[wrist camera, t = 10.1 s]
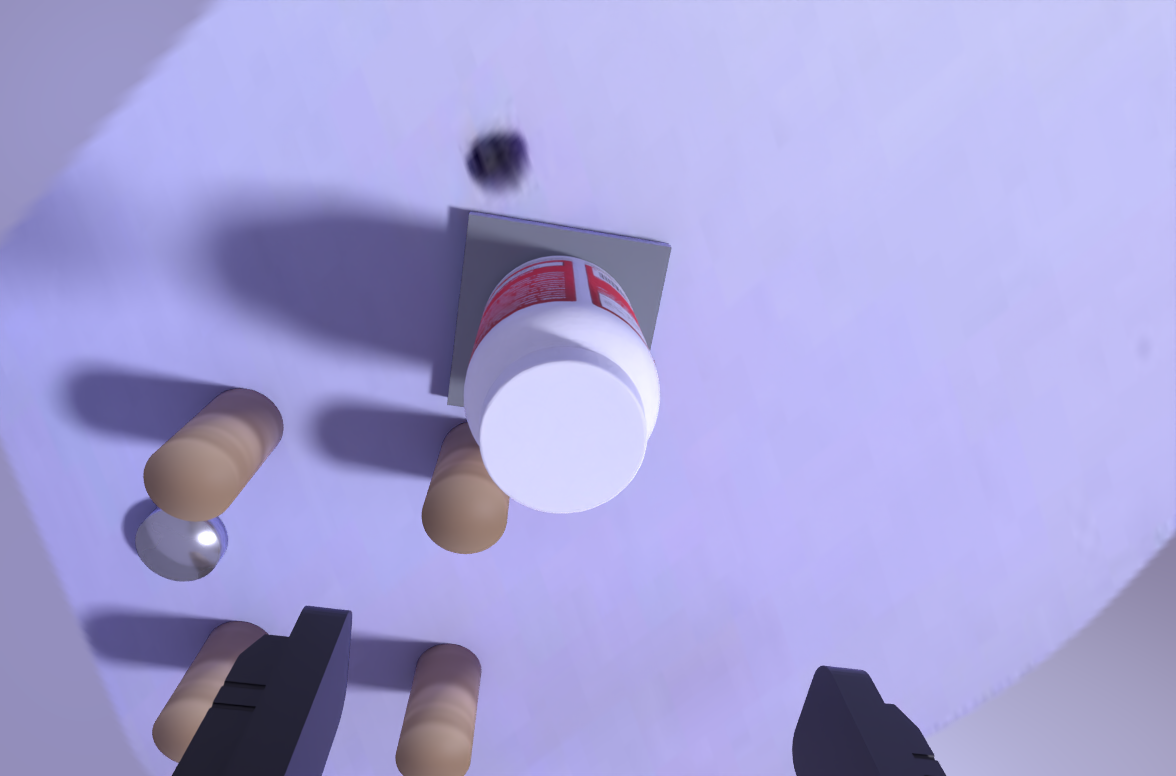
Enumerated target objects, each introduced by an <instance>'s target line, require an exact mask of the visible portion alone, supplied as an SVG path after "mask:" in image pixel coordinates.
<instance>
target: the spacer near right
mask: <svg viewBox="0 0 1176 776" xmlns="http://www.w3.org/2000/svg"><path fill="white" fill-rule="evenodd" d="M508 506H509V496H508V495H506V494H505V493H504V492H503V491H502V490H501V489H500V488H499V487H498V486H497V485H496V484H495V482H494V481H493V480H492V478H491V477H490V475H489V474H488V472H487V470H486V468H485V465H484V463H483V460H482V457H481V453H480V448H479V445H478V444H477V442H476V440H475V439H474V437H473V435H472V432H471V430H470V428H469V425H468V422H465V423H462V424H460V425H458V426H456V427H455V428H453V429H452V430H451V431H450V432H449V433H448V434H447V436H446V437H445V439H444V441H443V444H442V447H441V450H440V453H439V457H438V460H437V463H436V466H435V469H434V473H433V476H432V479H431V482H430V486H429V489H428V492H427V495H426V498H425V502H424V505H423V509H422V523H423V526H424V529H425V531H426V533H427V534H428V536H429V537H430V538H431V540H432V541H433V542H435V543H436V544H437V545H438V546H440V547H442V548H443V549H445V550H448V551H451V552H454V553H459V554H472V553H477V552H481V551H483V550H486V549H488V548H489V547H491V546H492V545H494V544H495V543H496V542H497V541H498V540H499V539H500V538H501V536H502V534H503V533H504V531H505V528H506V524H507V516H508Z"/></svg>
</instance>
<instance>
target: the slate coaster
mask: <svg viewBox="0 0 1176 776" xmlns="http://www.w3.org/2000/svg"><path fill="white" fill-rule="evenodd" d="M670 252H671V246H670V245H669V244H668V243H662V242H656V241H650V240H644V239H638V238H631V237H625V236H619V235H613V234H607V233H601V232H595V231H589V230H583V229H577V228H571V227H565V226H558V225H552V224H546V223H540V222H534V221H528V220H522V219H516V218H510V217H504V216H498V215H492V214H485V213H479V212H473V211H471V212H470V213H469V219H468V227H467V236H466V245H465V254H464V262H463V271H462V280H461V288H460V297H459V306H458V315H457V323H456V332H455V341H454V349H453V358H452V367H451V376H450V384H449V393H448V402H447V405H453V406H460V407H464V385H465V379H466V373H467V369H468V365H469V361H470V358H471V354H472V351H473V347H474V344H475V340H476V337H477V333H478V330H479V326H480V323H481V319H482V315H483V312H484V309H485V306H486V304H487V301H488V299H489V297H490V295H491V294H492V292H493V290H494V289H495V287H496V286H497V285H498V284H499V282H500V281H501V280H502V279H503V278H504V277H505V276H506V275H507V274H508V273H510V272H511V271H512V270H514V269H515V268H517V267H518V266H520V265H522V264H524V263H526V262H528V261H531V260H534V259H537V258H541V257H547V256H570V257H575V258H579V259H582V260H585V261H588V262H590V263H593V264H595V265H596V266H598V267H600V268H601V269H603V270H604V271H606V272H607V273H608V274H609V275H610V276H611V277H613V278H614V279H615V281H616V282H617V283H618V284H619V285H620V287H621V288H622V289H623V291H624V292H625V294H626V296H627V298H628V299H629V302H630V304H631V306H632V309H633V311H634V314H635V316H636V319H637V321H638V324H639V326H640V329H641V331H642V334H643V336H644V339H645V341H646V343H647V346H648V348H649V350H650V348H651V344H652V339H653V334H654V329H655V324H656V319H657V315H658V310H659V305H660V300H661V295H662V291H663V286H664V281H665V276H666V271H667V266H668V262H669V257H670Z"/></svg>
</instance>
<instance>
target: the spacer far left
mask: <svg viewBox="0 0 1176 776" xmlns="http://www.w3.org/2000/svg"><path fill="white" fill-rule="evenodd" d="M264 634H267V632H265V631H264V630H263V629H261V628H260V627H258V626H256V625H254V624H251V623H248V622H242V621H233V622H228V623H224V624H222V625H220V626H218V627H217V628H215V629H214V630H213V631H212V633H211V634H210V636H209V637H208V639H207V640H206V642H205V644H204V645H203V647H202V648H201V650H200V652H199V653H198V655H197V656H196V658H195V659H194V661H193V663H192V664H191V666H190V667H189V669H188V671H187V672H186V674H185V675H184V677H183V678H182V680H181V682H180V683H179V685H178V686H177V688H176V690H175V691H174V693H173V694H172V696H171V698H170V699H169V701H168V702H167V704H166V705H165V707H164V709H163V710H162V712H161V713H160V715H159V717H158V718H157V720H156V721H155V723H154V725H153V730H152V735H153V740H154V742H155V744H156V746H157V748H158V749H159V750H160V751H161V752H162V753H163V754H164V755H165V756H167V757H168V758H170V759H171V760H173V761H175V762H178V763H179V762H180V760H181V758H182V756H183V755H184V753H185V751H186V749H187V747H188V746H189V744H190V742H191V740H192V738H193V737H194V735H195V733H196V731H197V729H198V728H199V726H200V724H201V722H202V720H203V719H204V717H205V715H206V713H207V711H208V710H209V708H211V707H212V704H213V701H214V699H215V697H216V695H217V693H218V692H219V690H220V688H221V686H223V685H224V681H225V679H226V677H227V675H228V674H229V672H230V670H231V668H232V666H233V665H234V663H235V661H236V659H237V657H238V656H239V655H240V654H241V653H242V652H243V651H245V650H246V649H247V648H248V647H249V646H251V645H252V644H253V643H254V642H256V641H257V640H258V639H259V638H261V637H262V636H263V635H264ZM267 635H268V634H267Z"/></svg>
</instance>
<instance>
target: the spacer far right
mask: <svg viewBox="0 0 1176 776" xmlns="http://www.w3.org/2000/svg"><path fill="white" fill-rule="evenodd" d="M480 678H481V665H480V662H479V660H478V658H477V657H476V656H475V654H473V653H472V652H471V651H470V650H468V649H467V648H465V647H462V646H459V645H455V644H441V645H437V646H434V647H432V648H430V649H428V650H427V651H425V652H424V653H423V654H422V655H421V657H420V658H419V660H418V662H417V666H416V670H415V675H414V679H413V683H412V687H411V692H410V696H409V700H408V704H407V709H406V713H405V717H404V721H403V726H402V730H401V734H400V739H399V743H398V747H397V751H396V764H397V767H398V769H399V771H400V772H401V774H402V775H403V776H464V775H465V774H466V772H467V771H468V769H469V766H470V761H471V753H472V745H473V736H474V728H475V720H476V711H477V703H478V695H479V686H480Z"/></svg>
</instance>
